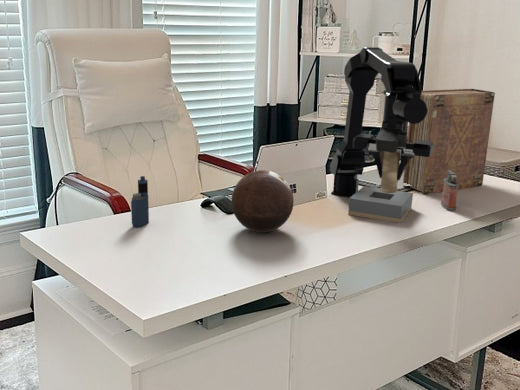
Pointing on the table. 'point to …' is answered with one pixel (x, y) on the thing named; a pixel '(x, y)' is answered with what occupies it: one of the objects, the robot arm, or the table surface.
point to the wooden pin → (390, 172)
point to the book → (451, 139)
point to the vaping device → (140, 204)
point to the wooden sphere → (262, 201)
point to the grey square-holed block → (380, 204)
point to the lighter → (450, 192)
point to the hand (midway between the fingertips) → (389, 179)
